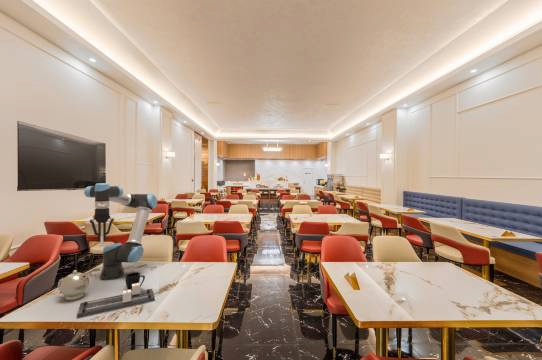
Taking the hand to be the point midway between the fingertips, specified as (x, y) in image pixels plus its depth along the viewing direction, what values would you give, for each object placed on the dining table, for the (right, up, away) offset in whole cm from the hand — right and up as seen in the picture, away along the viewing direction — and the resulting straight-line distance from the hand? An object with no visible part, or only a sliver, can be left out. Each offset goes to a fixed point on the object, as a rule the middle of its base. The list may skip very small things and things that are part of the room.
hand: (102, 245), depth 156 cm
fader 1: (+24, -27, -15) cm, 39 cm away
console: (+19, -29, -14) cm, 37 cm away
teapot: (-14, -30, -6) cm, 33 cm away
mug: (+18, -30, +5) cm, 35 cm away
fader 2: (+24, -27, -6) cm, 37 cm away
